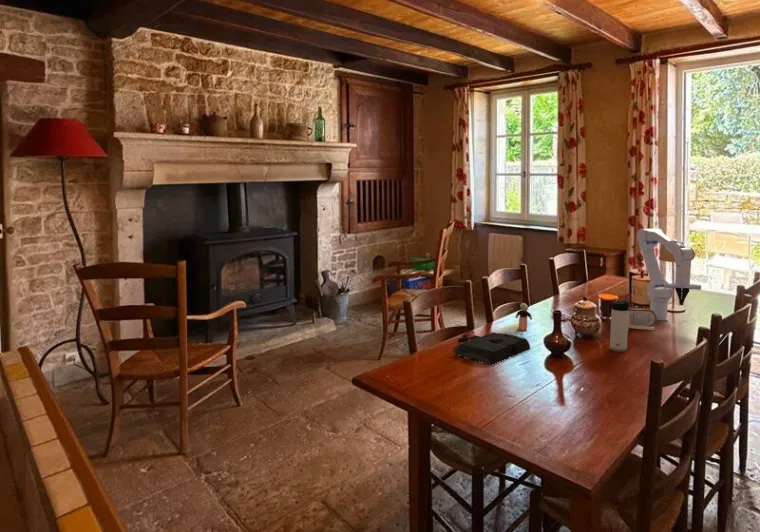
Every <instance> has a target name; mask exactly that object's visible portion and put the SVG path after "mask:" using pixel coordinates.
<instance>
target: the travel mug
mask: <svg viewBox="0 0 760 532" xmlns="http://www.w3.org/2000/svg"><path fill="white" fill-rule="evenodd" d="M629 308H630V302H629V301H623V300H620V301H615V302H611V312H610V313H611V318H610V319H611V320H610V333H609V335H610V336H609V337H610V338H609V350H611V351H613V352H618V353H621V352H622V353H623V352H624V353H625V352H627V349H628V332H629V331H628V318H629Z"/></svg>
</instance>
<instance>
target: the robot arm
mask: <svg viewBox="0 0 760 532" xmlns="http://www.w3.org/2000/svg"><path fill="white" fill-rule="evenodd" d="M636 239H637V243H638V246H639V248H640V251H641V254H642V257H643V261H644V264H645V268H646V270H647V275H648V277H649V282H648V284H647V285H646V294H647V298H648V299H649V301H650V308H649V309H651V310H653V311H654V313H655V314H656V318H657V319H656V321H664V322H668V321H669V318H668V306H669V305H668V304H669V302H670V300H671V299H672V298H673V294H674V293H673V289H674V290H675V293H676V295H677V298H678V303H679V304H678V305H679V306H684V303H685V300H686V298H687V296H688V294H689V293H690V290H697V291H702V285H701V284H693V283H691V271H692V270H691V269H692V261H693V260H694V259H695V257H696V256H695V255H696V254H695V253H696V252H695V251H694V249H693V248H692V247H691V246H690V247H689V246H688V247H686V246H685V245H684V244H682V243H680V242H679V240H678V239H670V237H668V236H667V235H666V234H664V231H663V229H661V228H660V227H655V228H653V227H652V228H640V229H638V231H637V234H636ZM659 244H661V245H663V246H664V247H665V248H664V249H665V250H666V251H668V252H669V253H670V254H671V255H673V259H674V263H675V279H674V283H669V282H668V281H667V280H665V279H664V278H663V275H662V273H661V269H660V266H659V263H658V261H657V260H658V259H657V256H656V253H655V248H656V247H657V246H658V245H659Z"/></svg>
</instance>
